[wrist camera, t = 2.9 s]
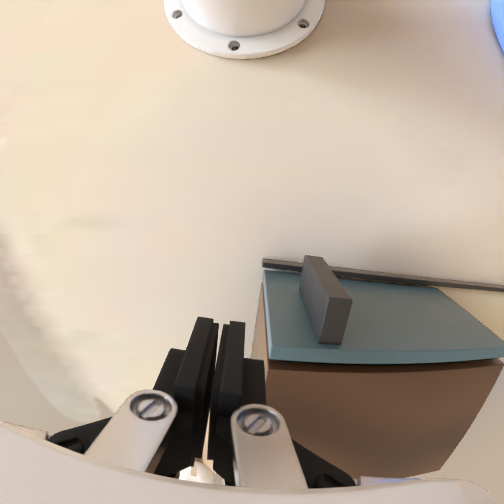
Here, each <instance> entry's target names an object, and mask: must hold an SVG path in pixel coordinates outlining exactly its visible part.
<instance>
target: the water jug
mask: <svg viewBox="0 0 504 504" xmlns="http://www.w3.org/2000/svg"><path fill="white" fill-rule="evenodd" d="M490 8H491V18H492V22H493V26H494V30H495V33H496V36H497V39H498V41H499V44H500V46H501V48H502V51H503V53H504V0H491V7H490Z"/></svg>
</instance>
